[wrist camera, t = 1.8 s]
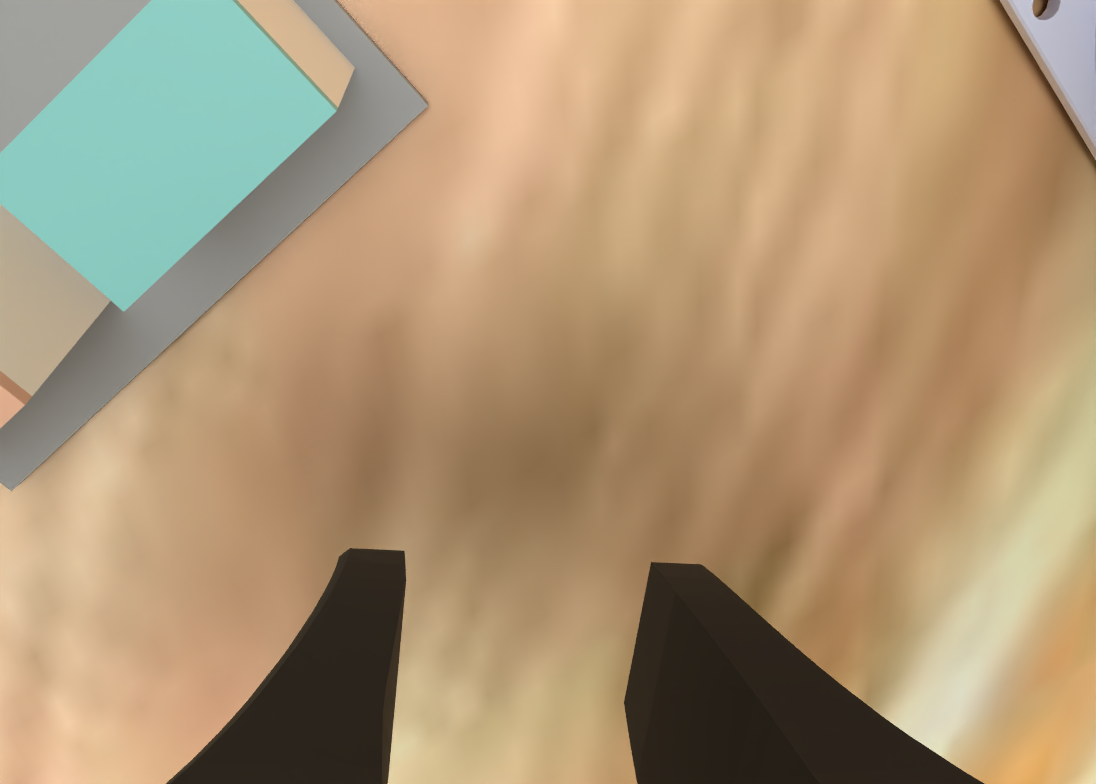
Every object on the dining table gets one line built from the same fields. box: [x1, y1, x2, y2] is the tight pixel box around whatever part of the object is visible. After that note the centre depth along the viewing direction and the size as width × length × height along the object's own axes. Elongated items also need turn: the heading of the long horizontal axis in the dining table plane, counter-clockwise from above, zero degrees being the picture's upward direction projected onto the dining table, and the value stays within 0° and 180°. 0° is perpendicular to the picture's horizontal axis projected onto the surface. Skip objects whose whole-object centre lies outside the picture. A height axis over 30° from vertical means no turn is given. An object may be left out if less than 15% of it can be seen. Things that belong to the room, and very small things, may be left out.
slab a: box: [0, 0, 355, 312], centre depth 16 cm, size 2×4×5 cm, turn 131°
